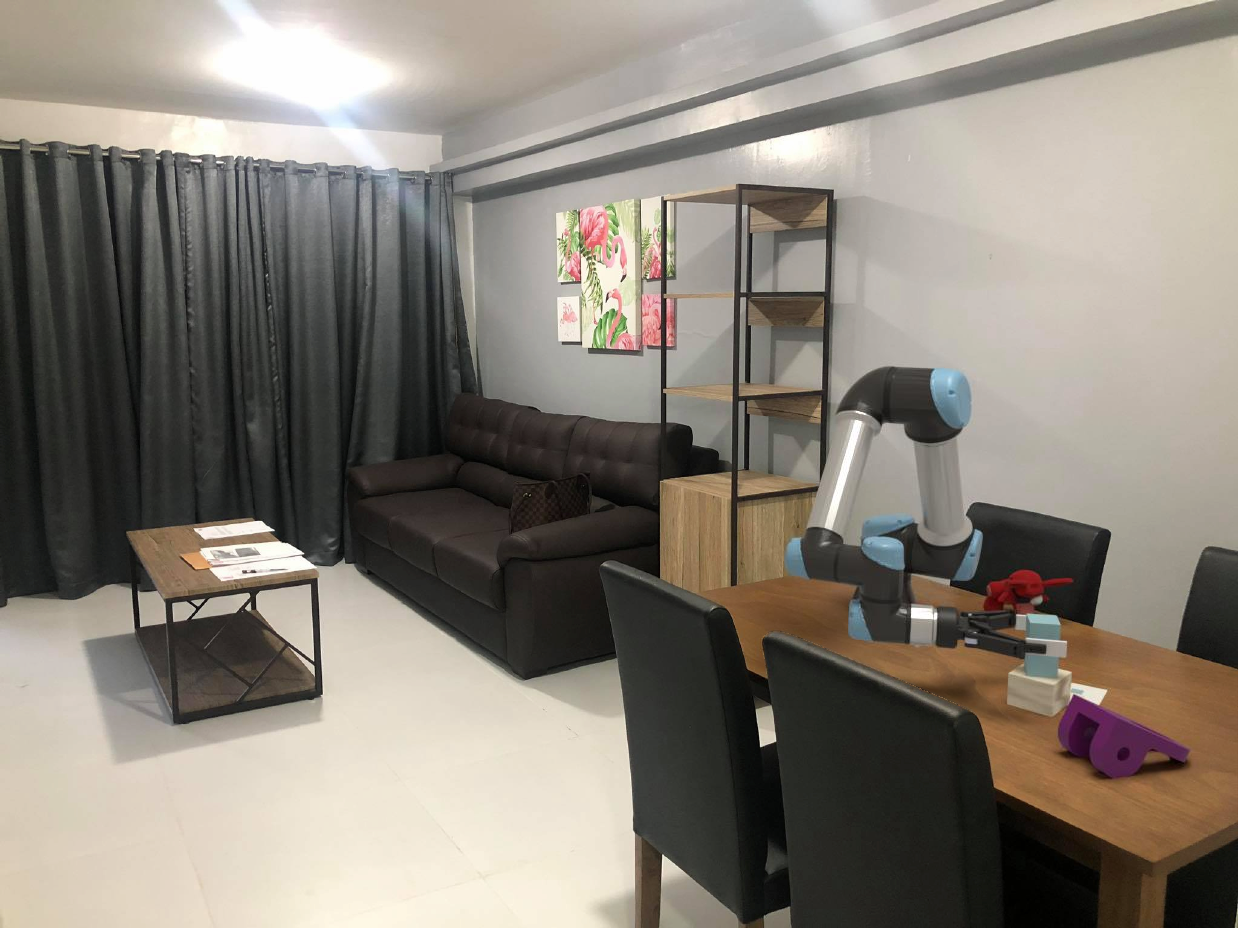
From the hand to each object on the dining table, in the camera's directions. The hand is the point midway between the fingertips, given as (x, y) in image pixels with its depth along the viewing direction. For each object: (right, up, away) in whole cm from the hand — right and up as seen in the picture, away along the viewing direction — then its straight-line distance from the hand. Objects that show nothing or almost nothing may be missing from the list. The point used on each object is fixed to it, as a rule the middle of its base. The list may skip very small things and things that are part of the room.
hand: (1060, 636), depth 174 cm
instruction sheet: (+6, -12, +7) cm, 15 cm away
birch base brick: (-3, -13, +3) cm, 13 cm away
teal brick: (-3, -7, +2) cm, 7 cm away
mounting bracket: (+2, -17, -19) cm, 25 cm away
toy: (+14, -5, +51) cm, 53 cm away
